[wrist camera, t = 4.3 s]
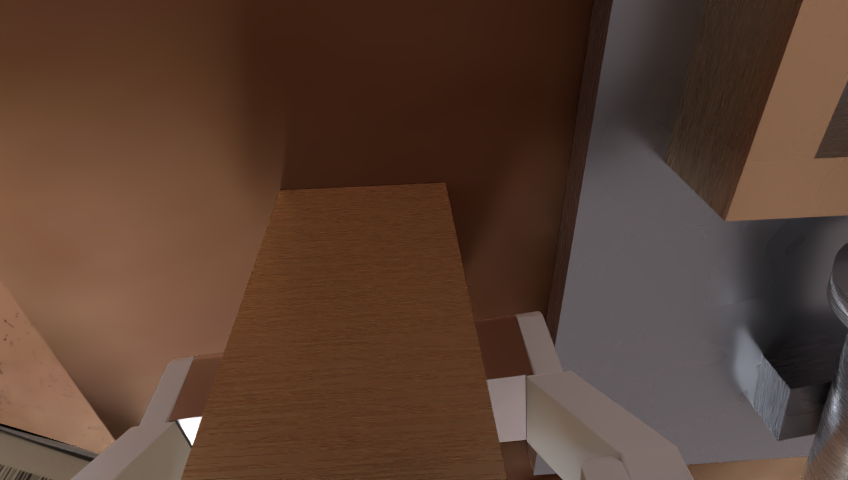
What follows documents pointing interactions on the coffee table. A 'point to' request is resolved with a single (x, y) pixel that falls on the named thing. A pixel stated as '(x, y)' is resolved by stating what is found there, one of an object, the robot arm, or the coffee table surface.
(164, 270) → the coffee table surface
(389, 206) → the pale yellow block
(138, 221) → the coffee table surface
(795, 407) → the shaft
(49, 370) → the coffee table surface
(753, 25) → the coupler station
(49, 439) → the skincare box
